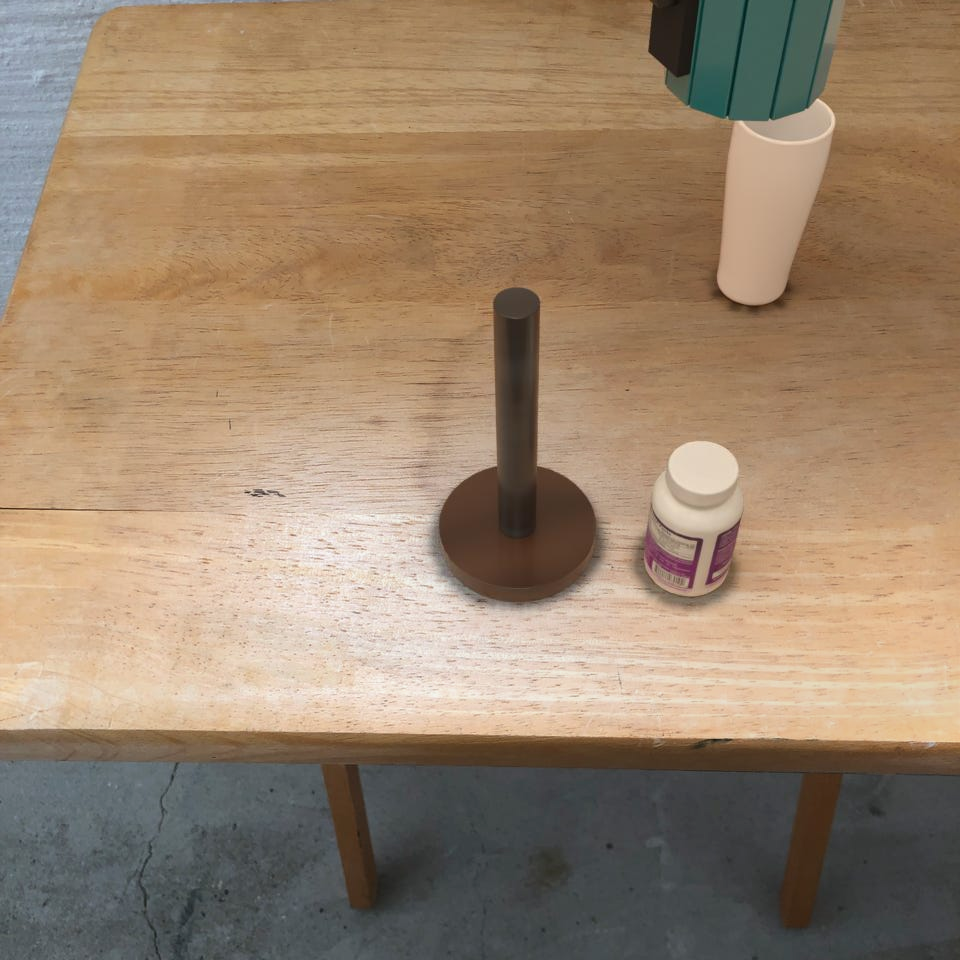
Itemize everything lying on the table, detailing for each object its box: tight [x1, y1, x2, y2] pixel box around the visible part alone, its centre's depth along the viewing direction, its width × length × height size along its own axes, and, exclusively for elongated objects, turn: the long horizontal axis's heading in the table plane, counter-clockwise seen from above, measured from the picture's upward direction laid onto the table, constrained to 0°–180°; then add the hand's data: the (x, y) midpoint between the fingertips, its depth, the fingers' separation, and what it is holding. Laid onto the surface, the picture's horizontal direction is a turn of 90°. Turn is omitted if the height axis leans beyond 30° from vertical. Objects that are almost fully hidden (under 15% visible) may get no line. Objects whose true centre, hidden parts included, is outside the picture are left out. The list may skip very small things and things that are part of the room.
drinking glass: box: [716, 98, 836, 306], centre depth 80 cm, size 7×7×15 cm
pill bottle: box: [643, 440, 745, 597], centre depth 66 cm, size 5×5×10 cm
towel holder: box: [438, 286, 597, 603], centre depth 63 cm, size 10×10×20 cm
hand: (743, 40), depth 55 cm, fingers closed on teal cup, 8 cm apart
